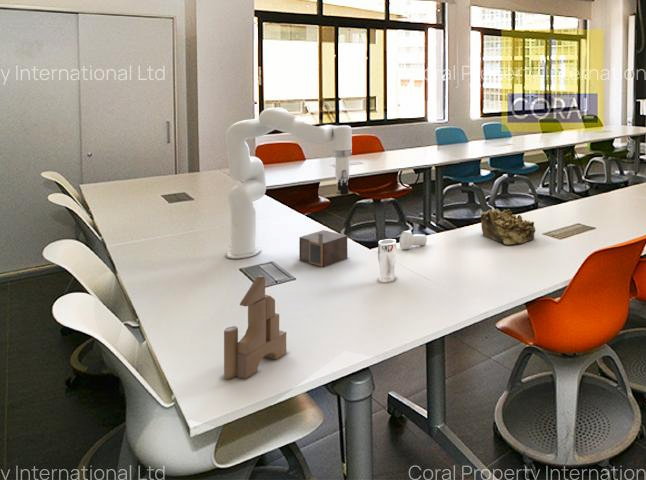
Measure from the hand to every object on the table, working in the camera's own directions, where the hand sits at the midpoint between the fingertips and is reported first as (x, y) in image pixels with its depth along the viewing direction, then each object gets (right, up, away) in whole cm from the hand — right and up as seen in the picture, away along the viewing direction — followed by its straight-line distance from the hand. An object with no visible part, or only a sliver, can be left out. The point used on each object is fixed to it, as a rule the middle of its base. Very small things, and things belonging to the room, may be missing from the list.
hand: (342, 192), depth 235 cm
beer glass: (+28, -29, -26) cm, 48 cm away
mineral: (+71, -29, +29) cm, 81 cm away
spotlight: (+28, -29, +12) cm, 41 cm away
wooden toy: (+10, -30, -87) cm, 93 cm away
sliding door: (-7, -28, -12) cm, 31 cm away
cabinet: (-7, -28, -4) cm, 29 cm away
